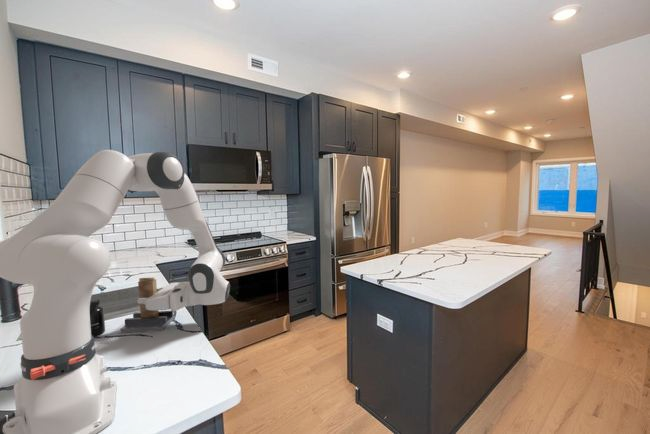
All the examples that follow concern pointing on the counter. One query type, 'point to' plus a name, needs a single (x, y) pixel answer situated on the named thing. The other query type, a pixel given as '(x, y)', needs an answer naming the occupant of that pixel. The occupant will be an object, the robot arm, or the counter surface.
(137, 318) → the floor track
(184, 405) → the counter surface
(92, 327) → the supplement bottle
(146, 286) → the brown tall rectangular block
